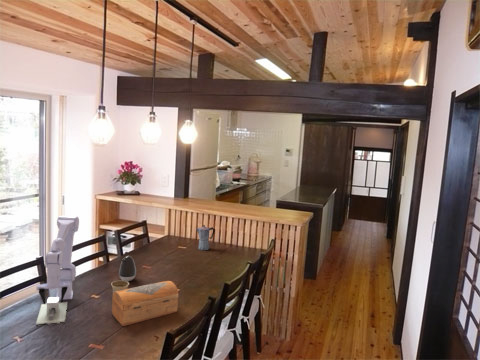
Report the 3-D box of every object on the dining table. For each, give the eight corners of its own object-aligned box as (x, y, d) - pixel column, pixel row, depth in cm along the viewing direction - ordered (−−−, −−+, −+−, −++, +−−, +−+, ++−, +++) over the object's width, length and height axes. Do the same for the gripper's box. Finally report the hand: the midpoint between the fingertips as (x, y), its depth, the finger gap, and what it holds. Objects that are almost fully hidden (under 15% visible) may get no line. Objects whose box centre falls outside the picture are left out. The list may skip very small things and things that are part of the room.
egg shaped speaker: (114, 280, 228) (115, 256, 226) (127, 275, 237) (128, 252, 235) (126, 284, 223) (128, 260, 221) (139, 279, 232) (140, 255, 231)
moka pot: (193, 247, 306) (195, 223, 304) (211, 246, 311) (213, 223, 308) (195, 250, 297) (197, 226, 295) (214, 250, 302) (216, 226, 299)
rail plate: (41, 306, 189) (41, 300, 188) (67, 303, 193) (67, 298, 193) (35, 325, 170) (36, 319, 170) (64, 322, 175) (64, 316, 174)
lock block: (47, 309, 184) (48, 297, 184) (59, 308, 186) (59, 296, 186) (46, 314, 179) (46, 302, 178) (58, 313, 181) (58, 301, 180)
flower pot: (122, 293, 210) (122, 278, 209) (131, 299, 205) (132, 284, 204) (107, 298, 203) (107, 283, 202) (116, 304, 197) (117, 288, 196)
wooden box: (164, 300, 207) (165, 276, 205) (178, 312, 194) (180, 287, 192) (110, 312, 188) (111, 286, 187) (122, 327, 175) (123, 299, 174)
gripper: (35, 280, 174) (35, 307, 176) (69, 278, 180) (68, 304, 181) (37, 274, 181) (37, 301, 182) (70, 272, 186) (69, 298, 188)
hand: (53, 302), depth 182 cm, fingers open, 7 cm apart
